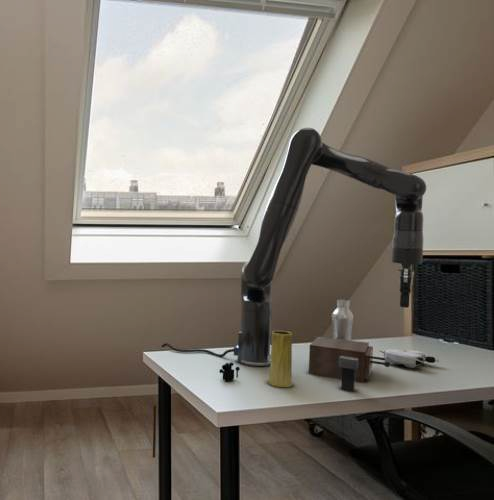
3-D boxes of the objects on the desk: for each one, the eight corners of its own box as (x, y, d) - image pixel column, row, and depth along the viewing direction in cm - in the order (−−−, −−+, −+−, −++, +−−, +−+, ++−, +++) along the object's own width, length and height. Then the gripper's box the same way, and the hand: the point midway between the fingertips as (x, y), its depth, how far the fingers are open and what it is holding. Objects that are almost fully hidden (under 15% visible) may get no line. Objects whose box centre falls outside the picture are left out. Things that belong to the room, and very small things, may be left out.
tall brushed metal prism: (338, 389, 127) (339, 357, 127) (339, 386, 129) (340, 355, 129) (356, 392, 125) (357, 360, 124) (357, 389, 127) (358, 358, 127)
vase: (280, 388, 126) (282, 335, 126) (263, 382, 131) (265, 331, 131) (296, 386, 129) (298, 333, 128) (279, 379, 134) (281, 329, 134)
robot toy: (402, 360, 163) (376, 361, 155) (404, 347, 163) (377, 348, 155) (441, 369, 152) (414, 371, 145) (442, 355, 152) (415, 356, 145)
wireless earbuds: (220, 382, 130) (221, 364, 130) (214, 380, 132) (215, 362, 132) (240, 379, 133) (241, 362, 133) (234, 377, 135) (234, 359, 135)
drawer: (390, 371, 142) (391, 348, 142) (389, 382, 131) (390, 358, 131) (324, 361, 152) (325, 340, 152) (317, 371, 140) (318, 348, 140)
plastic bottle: (355, 364, 153) (357, 302, 152) (332, 362, 154) (334, 301, 154) (349, 359, 159) (351, 299, 159) (328, 357, 161) (330, 298, 160)
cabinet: (367, 370, 146) (368, 342, 146) (363, 382, 133) (365, 352, 133) (316, 362, 154) (317, 336, 153) (308, 373, 141) (309, 344, 141)
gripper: (393, 246, 144) (390, 303, 144) (391, 246, 132) (388, 308, 133) (422, 247, 140) (419, 306, 140) (423, 247, 128) (420, 311, 129)
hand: (404, 307), depth 137 cm, fingers closed
